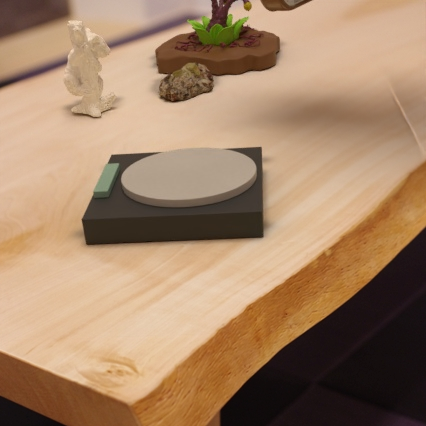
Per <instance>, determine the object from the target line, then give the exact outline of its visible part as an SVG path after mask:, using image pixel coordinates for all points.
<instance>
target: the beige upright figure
mask: <svg viewBox="0 0 426 426" xmlns="http://www.w3.org/2000/svg"><path fill="white" fill-rule="evenodd" d="M66 27H67V29H68V34H69V39H70V42H71V46H72V48H71V49H70V51H69V52H68V55H67V61H66V62H67V63H66V67H65V69H64V76H63V84H64V87H65V88H66V90H67V92H68V93H69V94H71V95H72V96H74V97H82V99H81V101H80V103H79V104H76V105H74V106H72V107H71V110H70V111H71V113H76V114H84V115H89V116H91V117H93V118H100V117H101V116H102V113H103V112H105V111H108V110H111V108H112V107H111V106H112V104H113V103H114V102H115V100H116V98H117V95H116V93H115V92H111V91H110V92H109V93H108V94H106V95H104V96H103V97H102V94H103V91H104V80H103V78H102V77H101V75H100V74H99V73H100V72H101V71H102V69H103V66H102V63H101V61H99V59H102V58H106V57H107V56H110V53H111V51H112V50H111V48H110V47H109V46H108V44H107V42H106V41H105V39H104V38H103V37H102V36H101V35H99V34H97V33H95V32H92V30H91V29H90V28H89V27H85V25H84V21H83V20H68V21H67V24H66Z"/></svg>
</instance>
